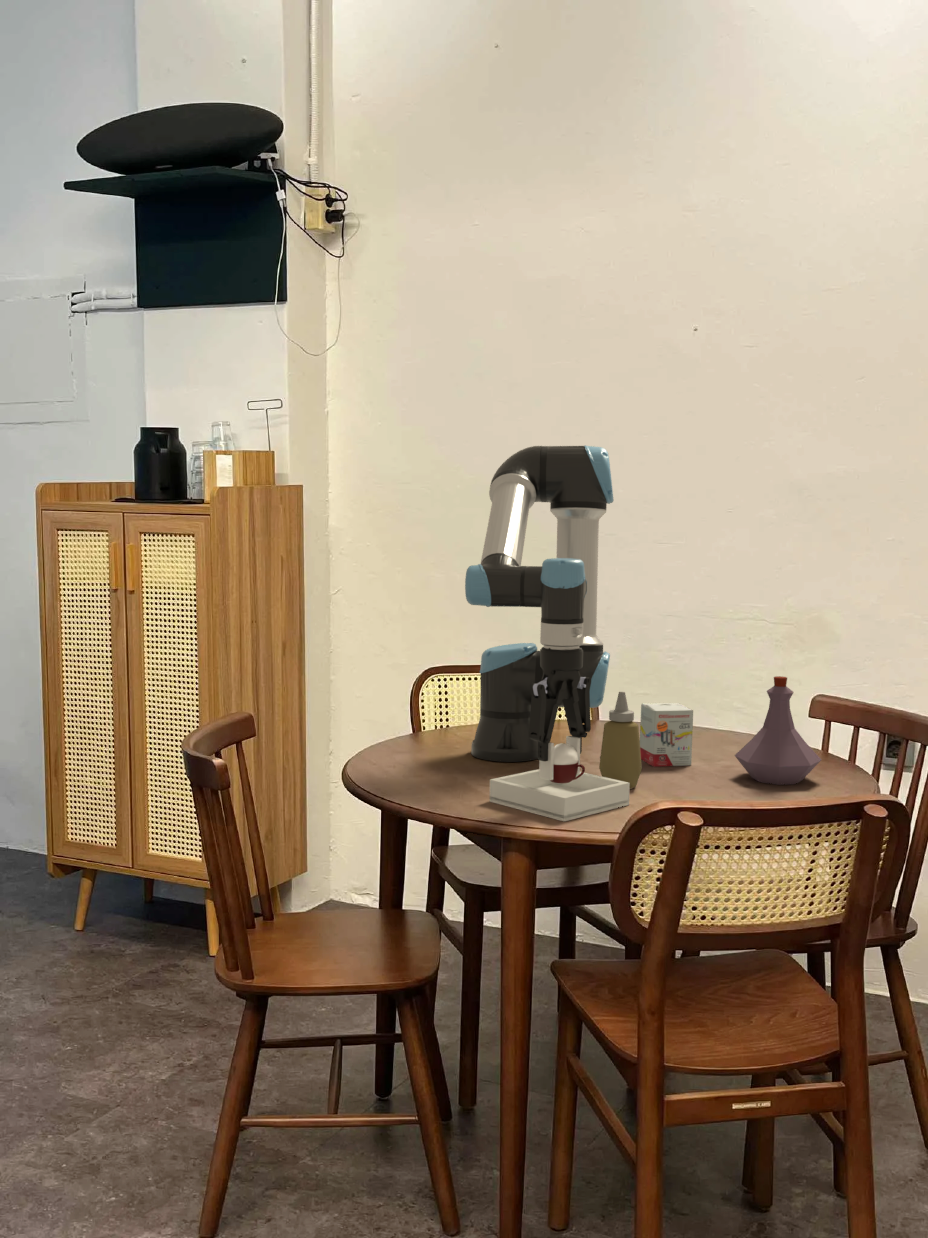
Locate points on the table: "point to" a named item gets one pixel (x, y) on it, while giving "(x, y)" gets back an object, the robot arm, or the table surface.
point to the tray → (559, 795)
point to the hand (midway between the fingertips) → (559, 775)
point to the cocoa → (565, 764)
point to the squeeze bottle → (621, 745)
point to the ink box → (666, 734)
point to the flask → (778, 744)
